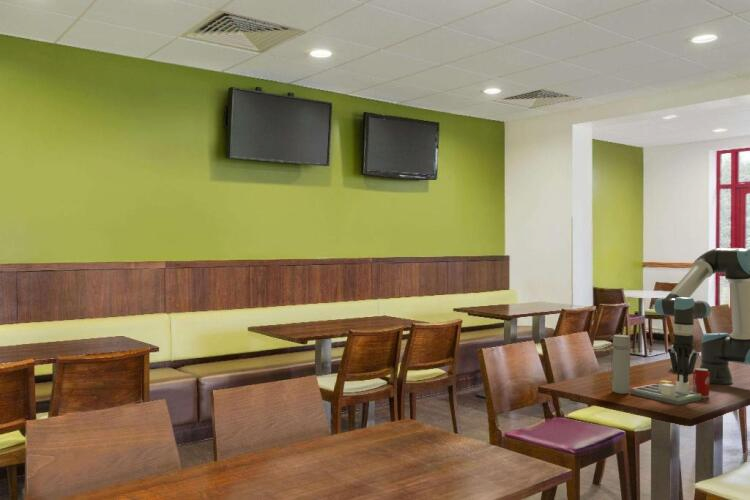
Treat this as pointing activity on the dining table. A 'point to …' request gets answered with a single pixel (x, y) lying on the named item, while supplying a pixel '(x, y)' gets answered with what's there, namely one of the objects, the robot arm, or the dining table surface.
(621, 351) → the water bottle
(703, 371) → the beverage can
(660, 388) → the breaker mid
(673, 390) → the block
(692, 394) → the panel
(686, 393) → the block
